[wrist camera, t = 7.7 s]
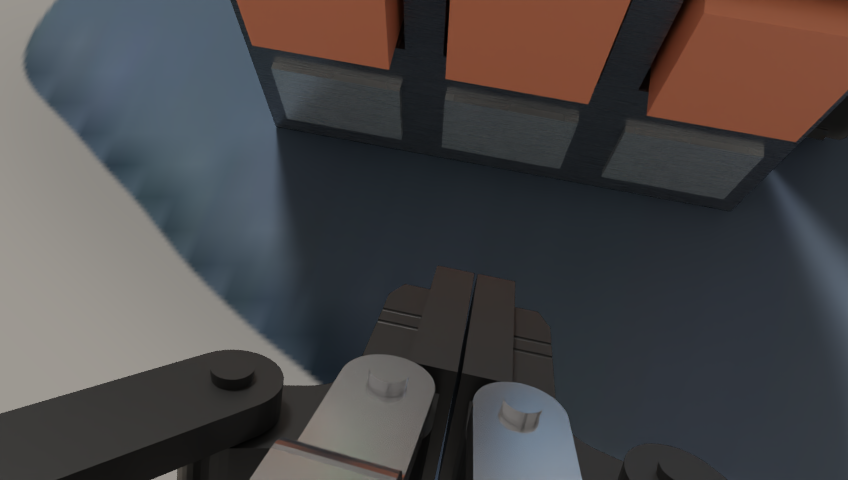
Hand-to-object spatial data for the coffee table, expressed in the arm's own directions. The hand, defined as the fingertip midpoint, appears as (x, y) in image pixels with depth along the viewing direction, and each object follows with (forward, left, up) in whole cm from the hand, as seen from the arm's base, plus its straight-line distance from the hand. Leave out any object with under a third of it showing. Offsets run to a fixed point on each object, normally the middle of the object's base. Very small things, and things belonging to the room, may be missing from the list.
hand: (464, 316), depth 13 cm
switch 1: (-7, -13, -7) cm, 16 cm away
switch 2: (0, -13, -7) cm, 15 cm away
